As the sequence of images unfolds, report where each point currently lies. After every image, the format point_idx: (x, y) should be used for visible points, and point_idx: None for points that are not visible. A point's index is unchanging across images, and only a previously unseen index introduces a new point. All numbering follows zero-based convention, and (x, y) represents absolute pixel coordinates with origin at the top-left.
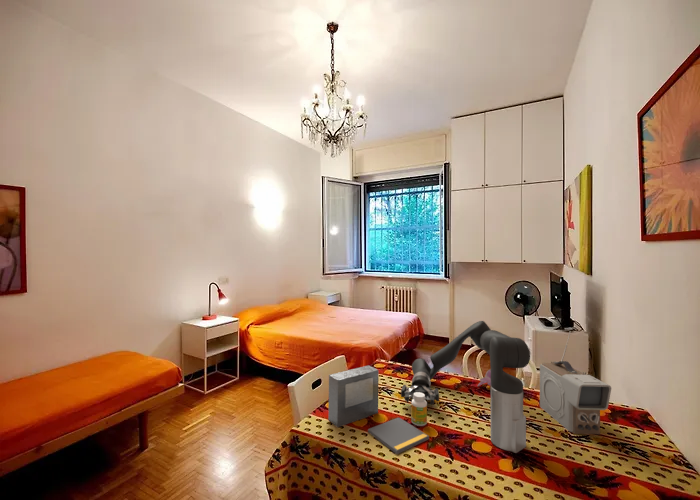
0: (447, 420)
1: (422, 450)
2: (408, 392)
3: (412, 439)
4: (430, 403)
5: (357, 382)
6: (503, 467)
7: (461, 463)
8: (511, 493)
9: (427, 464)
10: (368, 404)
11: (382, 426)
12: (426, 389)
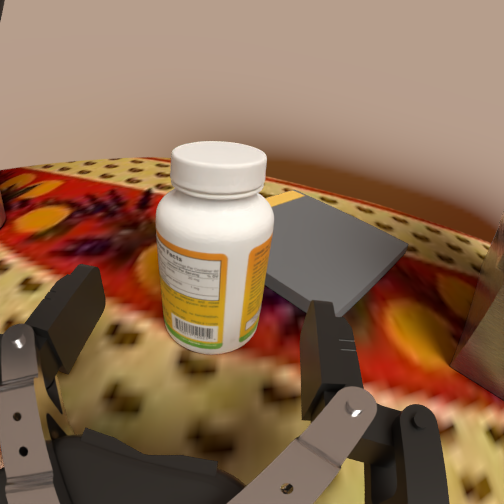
0: None
1: None
2: (332, 401)
3: None
4: (101, 291)
5: None
6: (54, 184)
7: (134, 184)
8: (92, 160)
9: None
10: (490, 282)
11: (374, 255)
12: (28, 432)
